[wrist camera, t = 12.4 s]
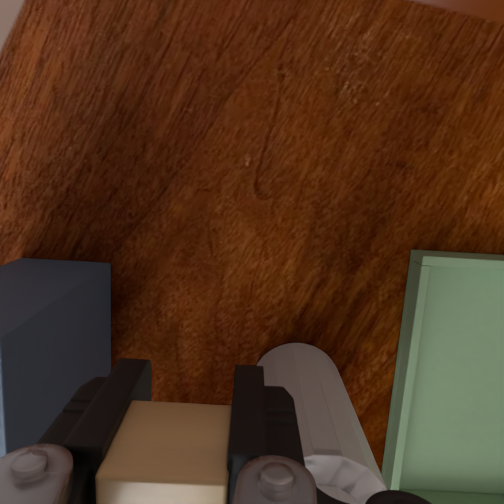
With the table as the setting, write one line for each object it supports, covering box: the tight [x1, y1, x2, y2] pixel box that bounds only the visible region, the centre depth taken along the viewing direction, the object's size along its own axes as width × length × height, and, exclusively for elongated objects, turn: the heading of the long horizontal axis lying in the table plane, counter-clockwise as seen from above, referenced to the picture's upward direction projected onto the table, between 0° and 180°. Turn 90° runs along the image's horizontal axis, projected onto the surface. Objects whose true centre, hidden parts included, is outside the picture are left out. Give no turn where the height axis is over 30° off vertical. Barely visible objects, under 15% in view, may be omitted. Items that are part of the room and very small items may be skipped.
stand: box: [0, 258, 111, 458], centre depth 23 cm, size 8×6×13 cm
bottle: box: [256, 343, 387, 504], centre depth 23 cm, size 6×6×16 cm
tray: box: [381, 250, 504, 504], centre depth 30 cm, size 18×10×2 cm, turn 177°
